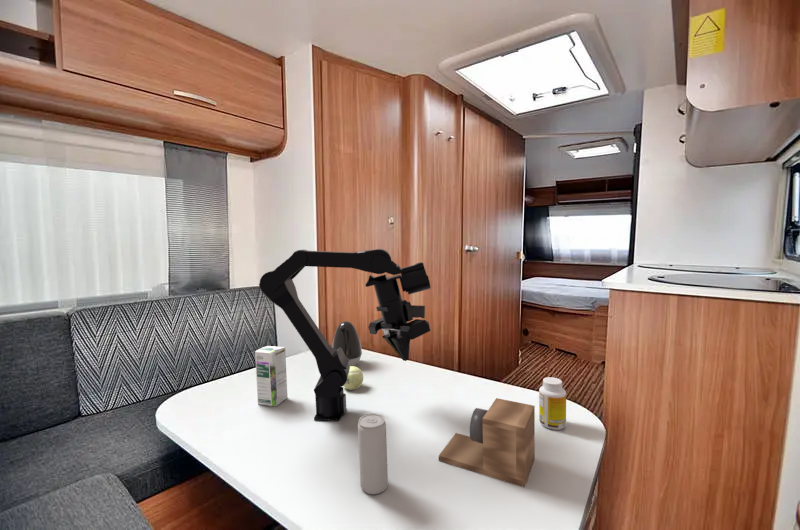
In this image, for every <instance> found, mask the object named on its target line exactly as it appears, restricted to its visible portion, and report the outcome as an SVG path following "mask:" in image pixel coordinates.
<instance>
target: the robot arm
mask: <svg viewBox="0 0 800 530" xmlns="http://www.w3.org/2000/svg"><path fill="white" fill-rule="evenodd" d="M305 267H312V268H313V267H318V268H319V267H321V268H338V269H339V268H344V269H345V268H346V269H347V268H348V269H354V270H358V271H359V270H360V271H363V272H367V273H370V275H369V276H368V280H367V281H366V283H365V287H366V288H367V287H372V286H373V287H374V291H375V294H376V299H377V302H378V306H375V309H376V311H377V312H381V317H380V318H378V319H375V320H373V321H370V322H369V325H368V326H367V327H368V331H369V334H370V335H377V334H378V332H379V331H380V330H382V331H383V334H384V335H382V339H383V340H385V342H387V343H388V344H389V346H390V347H391V348H392V349H393V350H394V351H395V352H396V354H397V355H398V356H399V357H400V358H401V359H402V360H403V362H404V361H405V362H406V361H408V360H409V356H410V343H411V340H412V341H413V340H415V339H417V338H419V337H421V336H423V335H425V334H427V333H429V332H431V331H432V329H431V325H430V323H429V321H427V320H426V319H425V318H426V305H414V304H413V305H412V304H411V301H407V300H406V299H403V298H402V294H401V290H400V287H399V283H398V279H399V282H400V286H401V289H402V292H405V293H407V294H408V295H412V294H415V293H420V292H423V291H427V290H430V289H431V283H430V279H429V276H428V274H427V271H426V268H425V265H424V263H423V262H422V261H421V262H420V261H419V262H415V264H412V265H408V266H404V267H400V264H397V263H396V262H394V261H393V260H392V257H391V254H390V252H388V251H387V250H385V249H383V248H376V249H375V248H374V249H368V250H361V251H354V252H351V251H350V252H348V251H330V250H329V251H326V250H322V251H321V250H307V249H299V250H295V251H294V252H293V253H292V254H291V255H290V256H289V257H288V258H287V259H285V261H283V262H282V263H280V265H279V266H277V267H276V268H275V269H274V270H271V271H270V270H269V271H267V272H266V273H264V274H263V275H261V278H260V279H259V283H258V286H259V289H260V291H261V292H262V293H263V295H265V296H266V298H267V299H268V300H269V301H270V302H271V303H273V304H274V305H276V306H277V307H279V308H280V309H281V310H282V311H283V312H284V314H285V316H286V317H287V319H288V320H289V321H290V323H291V324H292V326H293V327H294V328H295V330H296V332H297V333H298V335H299V336H300V337H301V339H302V341H304V343H305V345H306V346H307V348H308V349H309V350H310V352H311V353H312V355H313V356H314V358H315V361H316V365H317V369H318V372H319V374H320V377H319V378H318V380H317V383H316V385H315V387H314V389H313V392H314V396H315V415H314V417H313V420H314V421H340V420H342V417H343V416H344V415H345V413H346V411H347V395H346V393H344V386H343V385H344V384H345V383H346V381H347V377H348V374H349V370H350V365H349V360H350V359H349V358H347V357H346V356H345V354H344V352H343V350H342V348H341V347H340V348H339V349H338V350H335V349H334V348H333V347H332V345H330V344H329V342H328V341H327V338H326V337H325V336H324V335H323V333H322V331H321V330H320V329H319V327H318V325H317V324H316V322H315V321H314V320H313V318H312V317H311V315H310V314H309V312H308V311H307V309H306V308H305V306H304V305H303V303H302V302H301V300H300V298H299V296H298V292H297V288H296V285H295V283H294V281H293V280H294V278H296V277H297V276H298V275H299V274H300V272H301V271H302V270H304V268H305ZM371 273H372V274H375V275H378V276H373V275H372V274H371ZM385 273H386V274H390V275H392V276H388V277H387V275H386V274H385ZM414 318H415V319H414ZM418 318H419V319H418Z"/></svg>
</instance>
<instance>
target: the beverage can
mask: <svg viewBox="0 0 800 530" xmlns="http://www.w3.org/2000/svg"><path fill="white" fill-rule="evenodd" d="M357 423H358V424H357V435H358V436H357V437H358V439H357V440H358V461H359V462H358V464H359V479H360V480H359V483H360V484H359V485H360V488H361V489H362V491H363V492H365V493H366V494H369V495H374V496H375V495H379V494H381V493H383V492H384V491H385V490H386V488H387V487H388V484H389V471H388V444H387V442H388V441H387V438H388V437H387V424H386V418H385V417H384V416H383V415H381V414H377V413H369V414H365V415H364V414H363V415H362V416H360V418H359V419H358V422H357Z"/></svg>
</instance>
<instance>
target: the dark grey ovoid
mask: <svg viewBox="0 0 800 530" xmlns="http://www.w3.org/2000/svg"><path fill="white" fill-rule="evenodd" d="M331 347H333V348H334V349H335V350H338V349H339V348H340V347H341V348H342V350H343V352H344V354H345V356H346V357H347V358H349V359H350V360H349V365H350V366H355V367H356V365H358V363H359V362H360V360H361V357H362V355H363V350H362V344H361V340H360V336H359V334H358V331H357V329H356V328H355V325H353V323H352V322H350V321H349V320H348V321H347V320H346V321H345V320H343V321H342V322H340V323H339V324H338V325H337V327H336V330H335V332H334V336H333V340H332V345H331Z"/></svg>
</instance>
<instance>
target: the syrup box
mask: <svg viewBox="0 0 800 530" xmlns="http://www.w3.org/2000/svg"><path fill="white" fill-rule="evenodd" d="M254 353H255V354H254V356H255V357H254V358H255V359H254V360H255V375H256V376H255V377H256V393H257V405H263V406H270V407H277V406H278V405H280V403H282V402H283V401H285V400H286V399H288V397H289V396H288V382H287V381H288V378H287V377H288V376H287V361H286V359H287V358H286V346H274V345H273V346H271V345H266V346H263V347H261V348H259V349H257V350H255V352H254Z"/></svg>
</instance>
